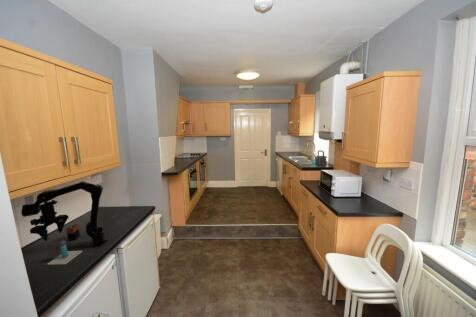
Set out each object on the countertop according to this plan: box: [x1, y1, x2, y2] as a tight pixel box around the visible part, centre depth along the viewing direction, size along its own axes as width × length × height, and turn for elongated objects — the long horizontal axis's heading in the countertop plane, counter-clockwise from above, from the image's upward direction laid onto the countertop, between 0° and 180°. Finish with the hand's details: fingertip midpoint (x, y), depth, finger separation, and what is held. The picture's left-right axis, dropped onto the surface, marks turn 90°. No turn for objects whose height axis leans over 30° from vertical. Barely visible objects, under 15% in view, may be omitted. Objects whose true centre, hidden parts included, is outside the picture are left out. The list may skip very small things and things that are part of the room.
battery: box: [65, 223, 81, 242], centre depth 141 cm, size 4×7×10 cm, turn 16°
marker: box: [57, 239, 69, 259], centre depth 118 cm, size 3×3×10 cm
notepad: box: [46, 250, 83, 266], centre depth 119 cm, size 12×11×1 cm
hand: (53, 236), depth 120 cm, fingers open, 9 cm apart
